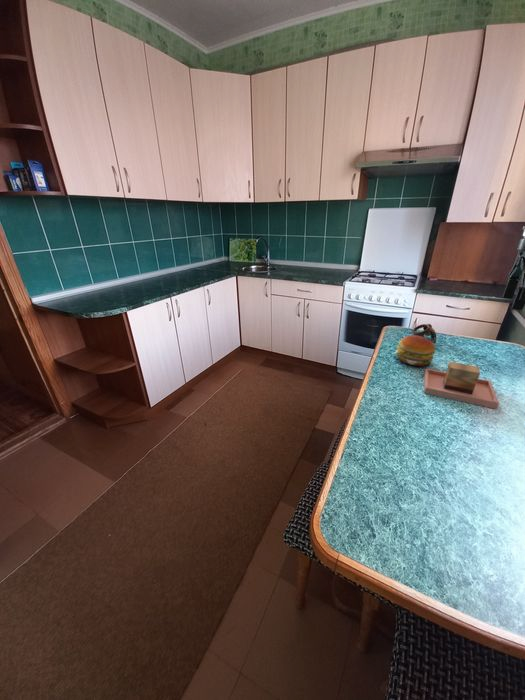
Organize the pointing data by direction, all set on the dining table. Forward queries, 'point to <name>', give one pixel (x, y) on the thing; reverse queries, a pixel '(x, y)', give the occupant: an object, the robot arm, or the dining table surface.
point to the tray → (480, 395)
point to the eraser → (461, 377)
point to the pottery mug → (425, 331)
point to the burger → (415, 350)
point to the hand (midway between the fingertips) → (511, 303)
